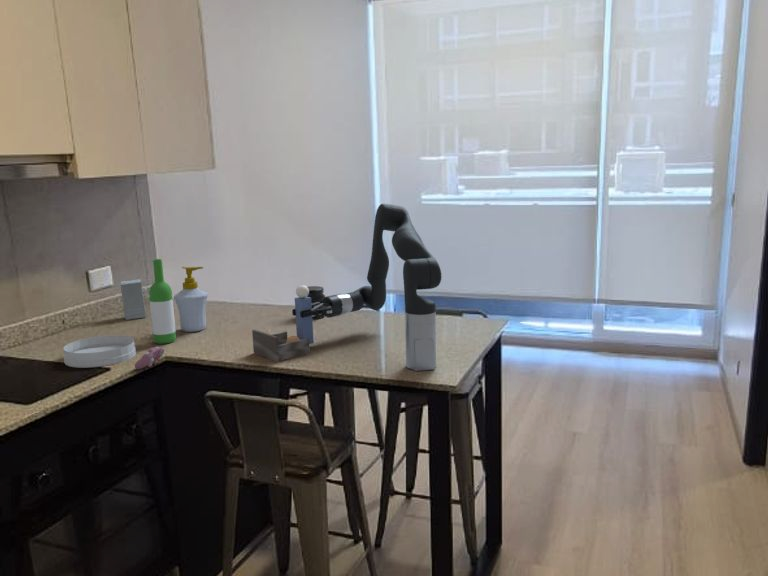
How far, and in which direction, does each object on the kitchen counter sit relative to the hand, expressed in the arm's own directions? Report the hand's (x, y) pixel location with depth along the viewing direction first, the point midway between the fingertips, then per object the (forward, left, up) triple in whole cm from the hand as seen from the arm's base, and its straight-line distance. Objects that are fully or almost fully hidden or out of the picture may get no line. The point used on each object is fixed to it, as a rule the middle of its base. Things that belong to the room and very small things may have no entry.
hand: (297, 313), depth 216 cm
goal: (-3, +6, -12) cm, 14 cm away
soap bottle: (+39, +37, -13) cm, 55 cm away
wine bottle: (+24, +46, -13) cm, 53 cm away
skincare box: (+68, +63, -13) cm, 94 cm away
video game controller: (-5, +47, -13) cm, 49 cm away
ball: (-1, +2, -7) cm, 8 cm away
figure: (+1, -2, -11) cm, 11 cm away
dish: (+10, +65, -13) cm, 67 cm away
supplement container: (+46, -10, -13) cm, 48 cm away
